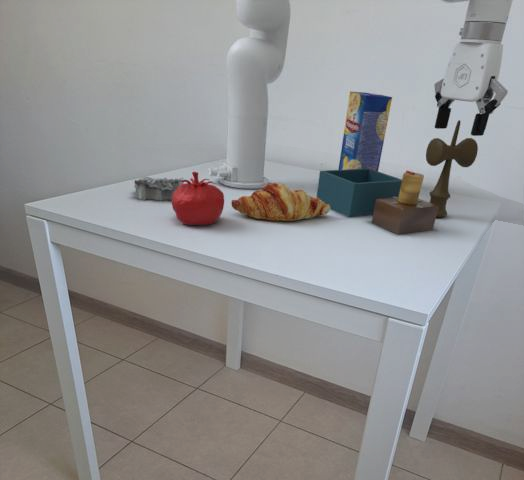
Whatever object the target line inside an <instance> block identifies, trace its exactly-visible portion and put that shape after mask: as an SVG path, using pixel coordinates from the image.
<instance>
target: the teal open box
mask: <svg viewBox="0 0 524 480" xmlns="http://www.w3.org/2000/svg"><path fill="white" fill-rule="evenodd" d="M317 183H318V184H317V190H316V198H319V199H320V200H322V201H323V202H324V203H325V204H329V205H330V210H333V211H336V212H338V213H340V214H342V215H344V216H346V217H348V218H352V217H362V216H373V213H374V208H375V202H376V199H382V198H393V196H395V197H399V192H400V187H401V183H402V178H398V177H396V176H393V175H390V174H386V173H384V172H381V171H379V170H378V171H375V170H372V169H369V168H368V169H347V170H338V169H327V170H326V169H325V170H319V175H318V182H317Z"/></svg>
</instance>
